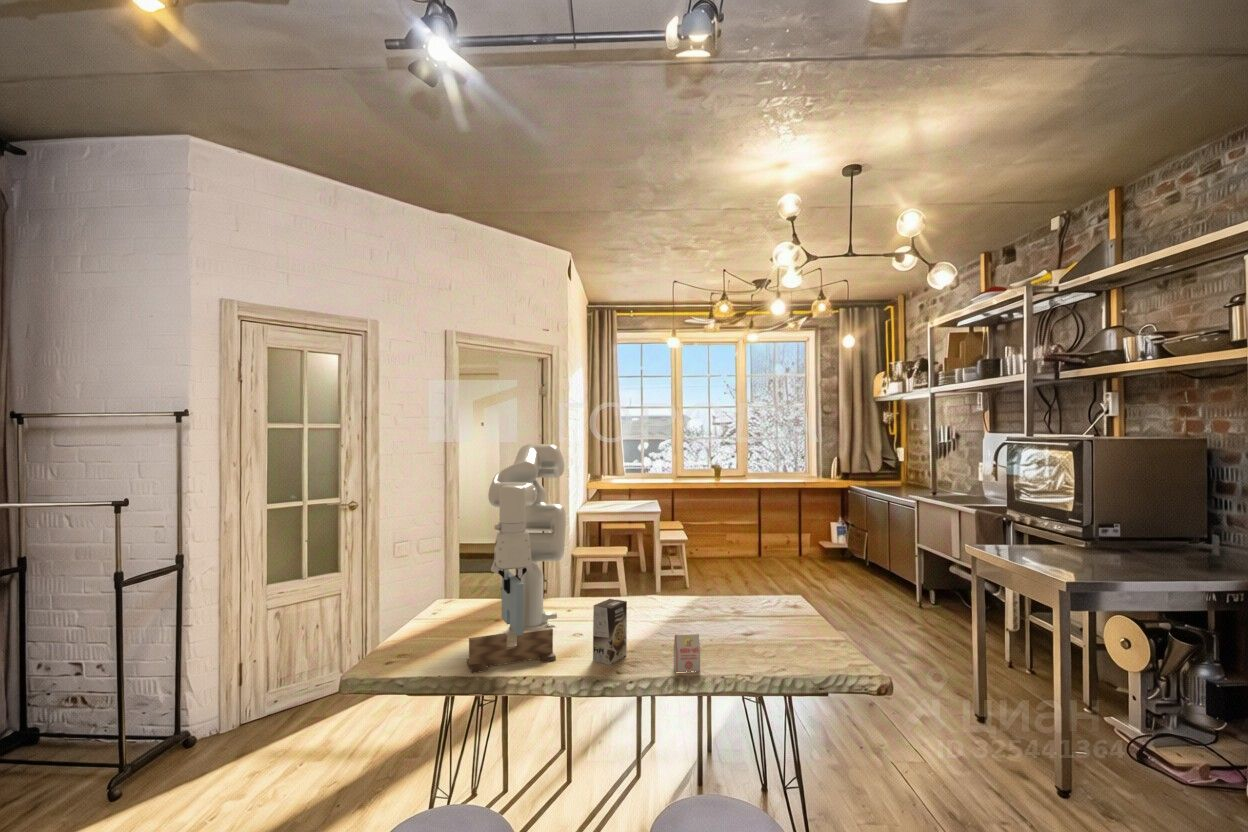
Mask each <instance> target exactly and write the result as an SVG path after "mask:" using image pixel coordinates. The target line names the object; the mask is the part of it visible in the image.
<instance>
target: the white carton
mask: <svg viewBox="0 0 1248 832" xmlns="http://www.w3.org/2000/svg"><path fill="white" fill-rule="evenodd" d="M700 645H701V643H700V634H699V633H685V634H684V633H681V634H680V633H679V634H674V641H673V670H674V669H675V670H674V672H675V671H676V672H686V671H687V672H691V671H694V672H695V671H696V672H700V673H701V647H700ZM676 672H675V673H676Z"/></svg>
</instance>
